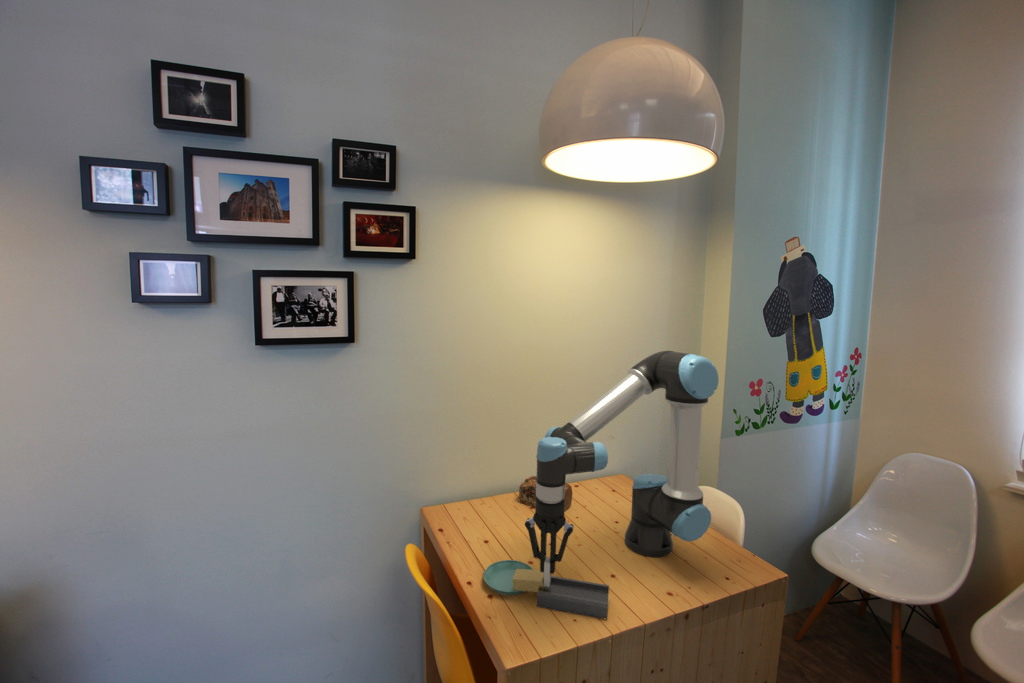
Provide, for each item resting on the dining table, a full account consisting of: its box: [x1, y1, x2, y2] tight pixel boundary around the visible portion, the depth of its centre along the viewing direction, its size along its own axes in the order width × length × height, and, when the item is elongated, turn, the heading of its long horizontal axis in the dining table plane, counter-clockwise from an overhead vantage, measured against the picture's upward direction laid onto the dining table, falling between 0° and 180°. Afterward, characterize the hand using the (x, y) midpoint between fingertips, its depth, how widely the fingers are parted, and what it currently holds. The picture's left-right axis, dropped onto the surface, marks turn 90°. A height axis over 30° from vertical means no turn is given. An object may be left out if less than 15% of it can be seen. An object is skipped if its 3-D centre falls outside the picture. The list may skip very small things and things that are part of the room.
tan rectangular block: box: [512, 569, 545, 593], centre depth 123 cm, size 8×5×3 cm, turn 77°
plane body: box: [535, 575, 610, 620], centre depth 120 cm, size 18×8×4 cm, turn 77°
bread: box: [518, 475, 573, 513], centre depth 178 cm, size 19×11×10 cm, turn 55°
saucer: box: [483, 559, 535, 597], centre depth 128 cm, size 15×15×3 cm
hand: (547, 583), depth 122 cm, fingers closed
